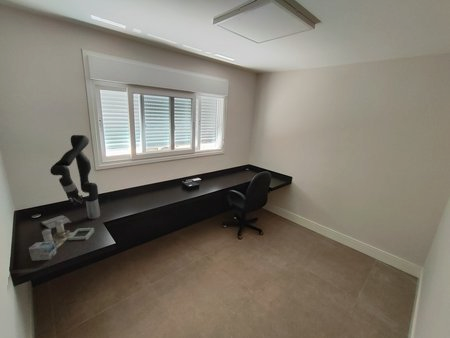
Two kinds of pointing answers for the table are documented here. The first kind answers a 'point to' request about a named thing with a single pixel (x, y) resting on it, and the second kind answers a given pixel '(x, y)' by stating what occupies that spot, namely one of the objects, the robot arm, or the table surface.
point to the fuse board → (61, 238)
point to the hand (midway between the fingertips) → (80, 205)
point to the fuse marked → (60, 227)
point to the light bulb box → (42, 250)
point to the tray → (91, 231)
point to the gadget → (51, 222)
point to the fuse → (47, 235)
